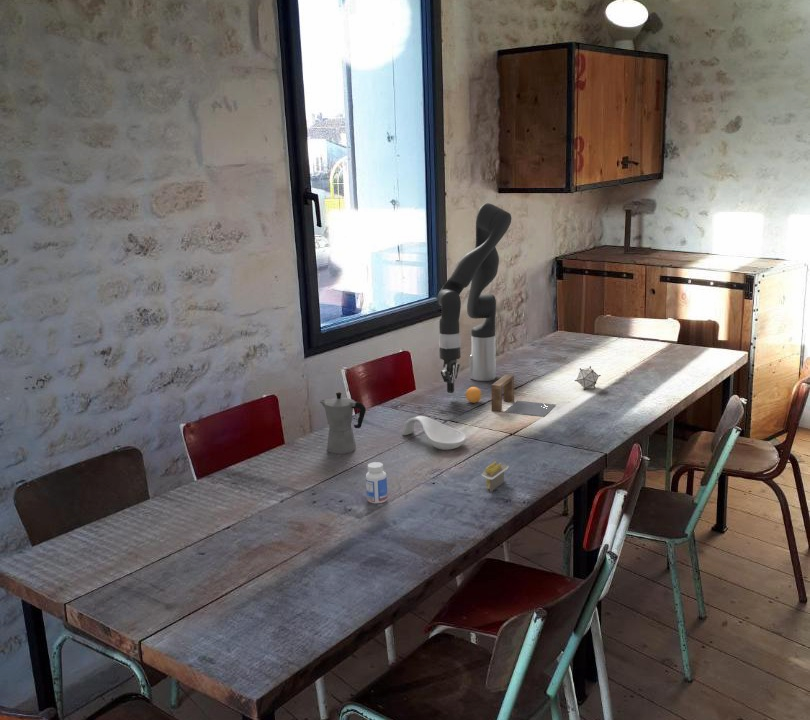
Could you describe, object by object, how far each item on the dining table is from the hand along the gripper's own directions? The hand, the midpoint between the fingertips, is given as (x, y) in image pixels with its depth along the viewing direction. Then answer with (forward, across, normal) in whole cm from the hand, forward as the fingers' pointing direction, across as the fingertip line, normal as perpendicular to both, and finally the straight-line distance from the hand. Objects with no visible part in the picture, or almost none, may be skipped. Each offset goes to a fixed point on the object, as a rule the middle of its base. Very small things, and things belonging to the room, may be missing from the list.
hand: (450, 392), depth 306 cm
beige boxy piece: (+5, +70, +40) cm, 81 cm away
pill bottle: (+4, +89, +15) cm, 90 cm away
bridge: (+3, 0, +20) cm, 20 cm away
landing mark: (+3, 0, +30) cm, 30 cm away
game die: (+3, -30, +42) cm, 52 cm away
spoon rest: (+4, +43, +11) cm, 45 cm away
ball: (0, 0, +9) cm, 9 cm away
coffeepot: (+4, +58, -12) cm, 60 cm away
